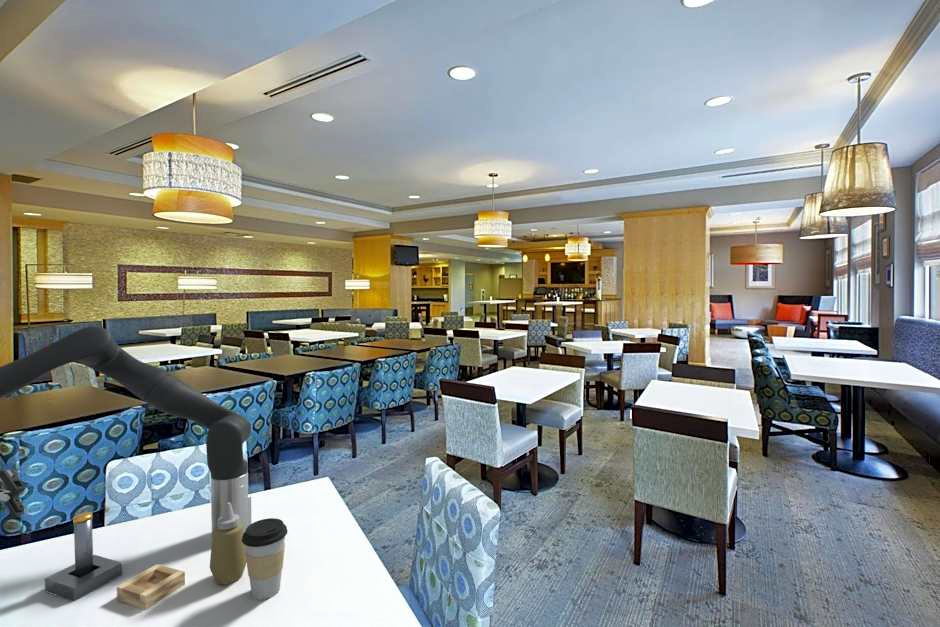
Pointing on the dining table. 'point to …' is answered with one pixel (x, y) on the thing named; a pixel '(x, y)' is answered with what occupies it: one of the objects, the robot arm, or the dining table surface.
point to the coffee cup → (265, 556)
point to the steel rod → (83, 544)
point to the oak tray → (150, 586)
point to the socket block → (83, 579)
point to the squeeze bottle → (228, 548)
